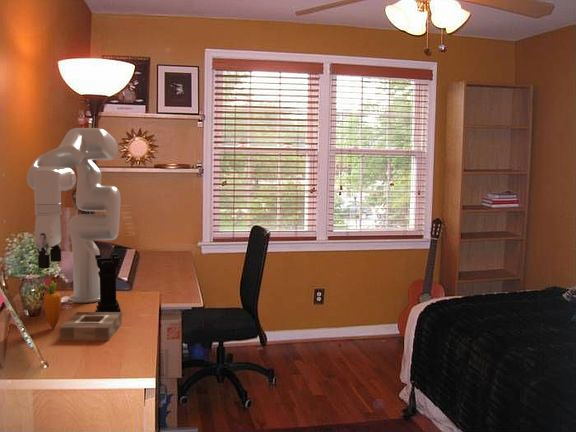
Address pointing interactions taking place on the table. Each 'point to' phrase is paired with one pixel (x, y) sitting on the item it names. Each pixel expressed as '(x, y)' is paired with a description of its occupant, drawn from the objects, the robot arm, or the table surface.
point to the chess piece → (107, 284)
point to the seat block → (91, 326)
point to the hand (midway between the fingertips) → (50, 264)
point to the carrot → (52, 305)
